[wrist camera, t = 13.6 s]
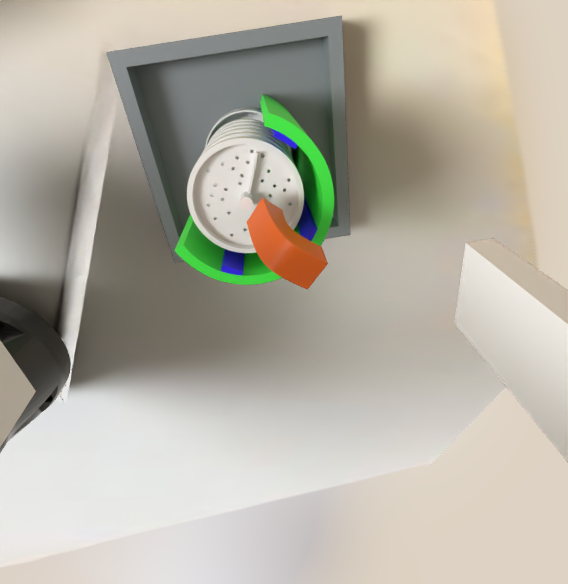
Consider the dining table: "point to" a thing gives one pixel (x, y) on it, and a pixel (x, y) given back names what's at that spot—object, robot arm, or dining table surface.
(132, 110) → the tray
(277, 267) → the green-shelled ribbed roller
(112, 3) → the dining table surface
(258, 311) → the dining table surface
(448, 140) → the dining table surface
